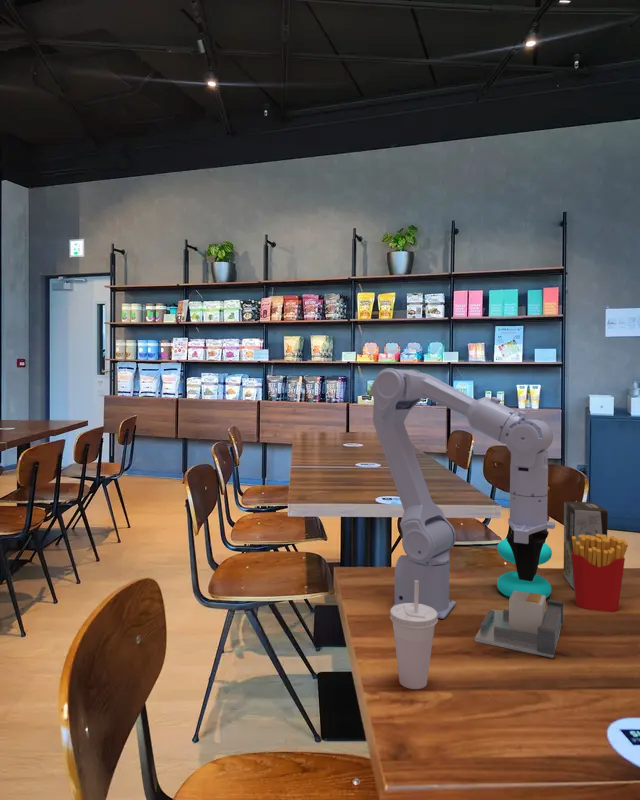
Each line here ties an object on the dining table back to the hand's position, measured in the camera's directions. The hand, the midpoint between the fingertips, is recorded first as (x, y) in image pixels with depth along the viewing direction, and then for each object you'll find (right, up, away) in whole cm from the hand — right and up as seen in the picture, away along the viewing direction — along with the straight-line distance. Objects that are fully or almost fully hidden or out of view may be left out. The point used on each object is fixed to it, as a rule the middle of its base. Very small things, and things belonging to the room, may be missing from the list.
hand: (527, 577), depth 91 cm
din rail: (-1, -9, +1) cm, 9 cm away
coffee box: (+21, -9, +24) cm, 33 cm away
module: (0, -9, 0) cm, 9 cm away
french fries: (+18, -9, +12) cm, 23 cm away
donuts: (+6, -9, +19) cm, 22 cm away
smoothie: (-21, -10, -15) cm, 27 cm away
